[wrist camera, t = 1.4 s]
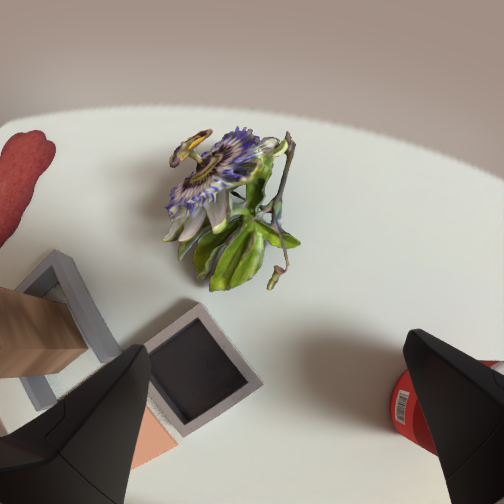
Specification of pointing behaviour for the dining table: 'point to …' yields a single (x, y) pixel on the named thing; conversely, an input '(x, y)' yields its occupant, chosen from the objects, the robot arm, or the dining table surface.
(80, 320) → the channel
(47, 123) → the dining table surface
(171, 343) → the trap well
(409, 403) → the canned food
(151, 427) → the pad
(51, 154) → the patty
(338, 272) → the dining table surface
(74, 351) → the walnut block
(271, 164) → the passion flower
